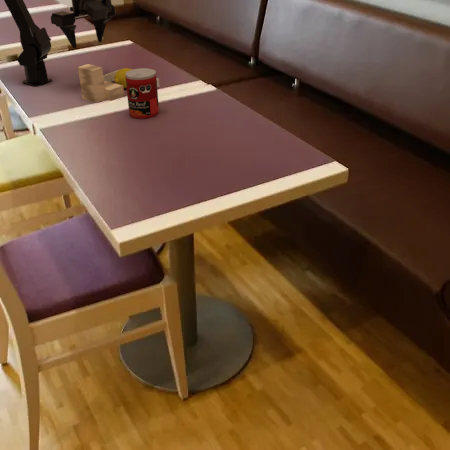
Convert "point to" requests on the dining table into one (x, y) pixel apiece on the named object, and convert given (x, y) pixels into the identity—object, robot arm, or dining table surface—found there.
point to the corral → (110, 76)
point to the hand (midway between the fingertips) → (87, 45)
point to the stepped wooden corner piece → (97, 85)
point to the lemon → (121, 77)
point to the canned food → (142, 93)
